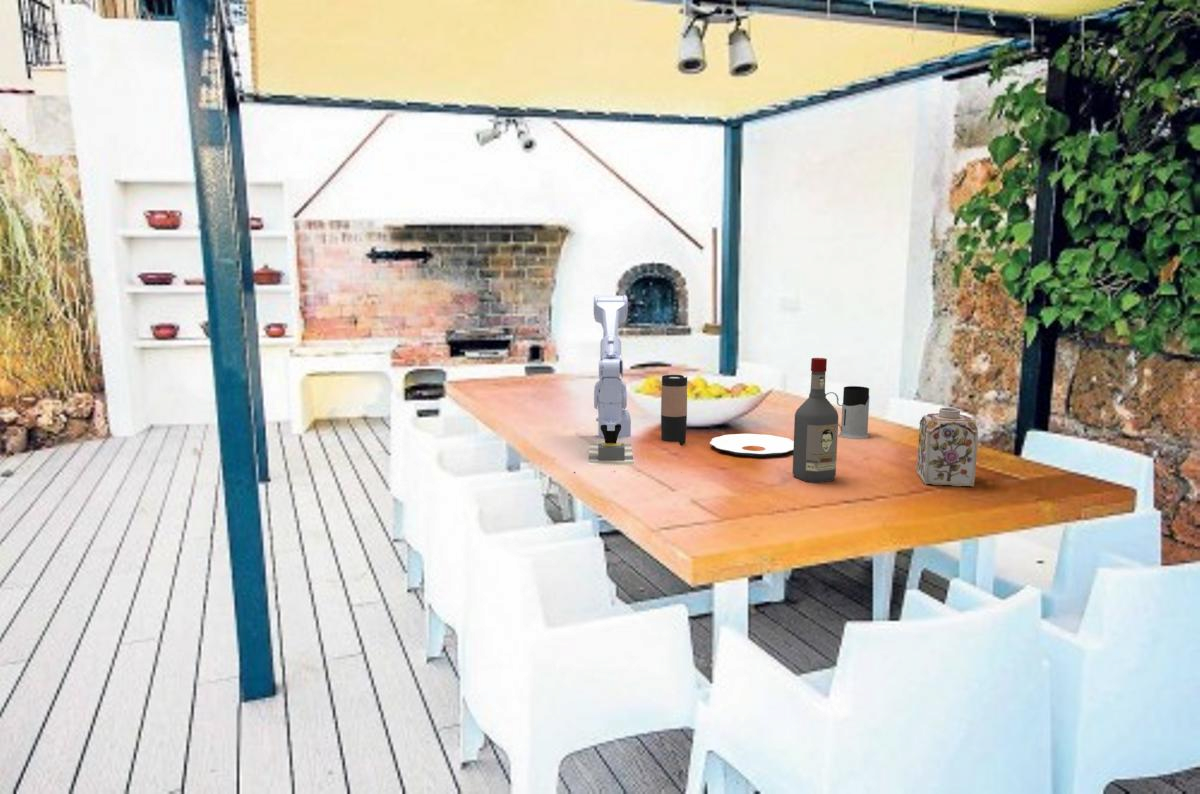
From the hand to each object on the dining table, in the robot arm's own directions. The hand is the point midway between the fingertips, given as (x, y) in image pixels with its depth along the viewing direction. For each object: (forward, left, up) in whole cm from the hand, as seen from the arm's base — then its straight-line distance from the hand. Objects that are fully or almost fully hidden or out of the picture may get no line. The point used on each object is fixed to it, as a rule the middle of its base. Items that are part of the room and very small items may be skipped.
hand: (610, 451), depth 223 cm
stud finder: (+1, +4, -1) cm, 4 cm away
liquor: (-41, +35, -2) cm, 54 cm away
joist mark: (+1, +3, -2) cm, 4 cm away
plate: (-43, +2, -3) cm, 44 cm away
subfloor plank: (0, -1, -2) cm, 3 cm away
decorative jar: (-70, +48, -2) cm, 85 cm away
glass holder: (-78, -3, -2) cm, 79 cm away
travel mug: (-24, -12, -2) cm, 27 cm away
